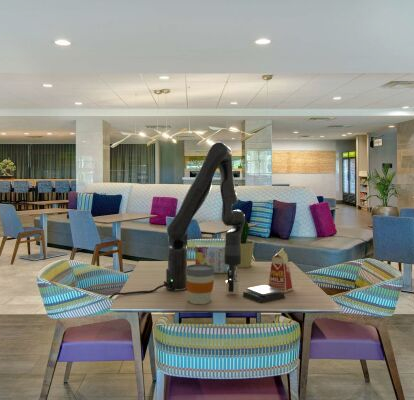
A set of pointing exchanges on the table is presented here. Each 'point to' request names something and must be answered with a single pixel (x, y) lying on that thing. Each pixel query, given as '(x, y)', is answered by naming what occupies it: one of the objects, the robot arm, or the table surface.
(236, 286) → the white cup
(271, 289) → the grey square plate
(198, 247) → the snack box
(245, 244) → the potted cactus
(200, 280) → the reusable coffee cup
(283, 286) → the milk carton
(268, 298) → the scale
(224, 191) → the robot arm
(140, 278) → the table surface
